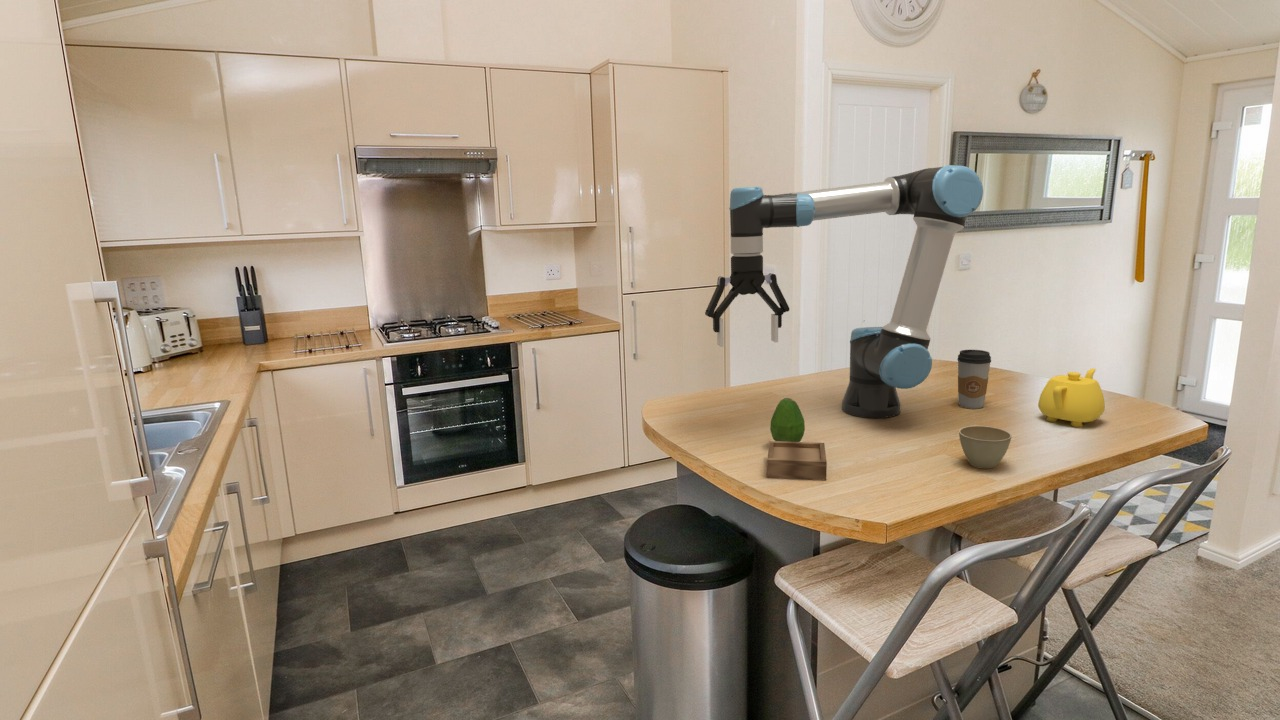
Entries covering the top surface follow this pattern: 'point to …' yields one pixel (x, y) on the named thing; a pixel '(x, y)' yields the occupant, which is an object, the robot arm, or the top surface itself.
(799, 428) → the avocado
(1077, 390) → the teapot
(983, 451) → the grey bowl
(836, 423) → the top surface
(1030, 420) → the top surface
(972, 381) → the coffee cup
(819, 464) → the base
